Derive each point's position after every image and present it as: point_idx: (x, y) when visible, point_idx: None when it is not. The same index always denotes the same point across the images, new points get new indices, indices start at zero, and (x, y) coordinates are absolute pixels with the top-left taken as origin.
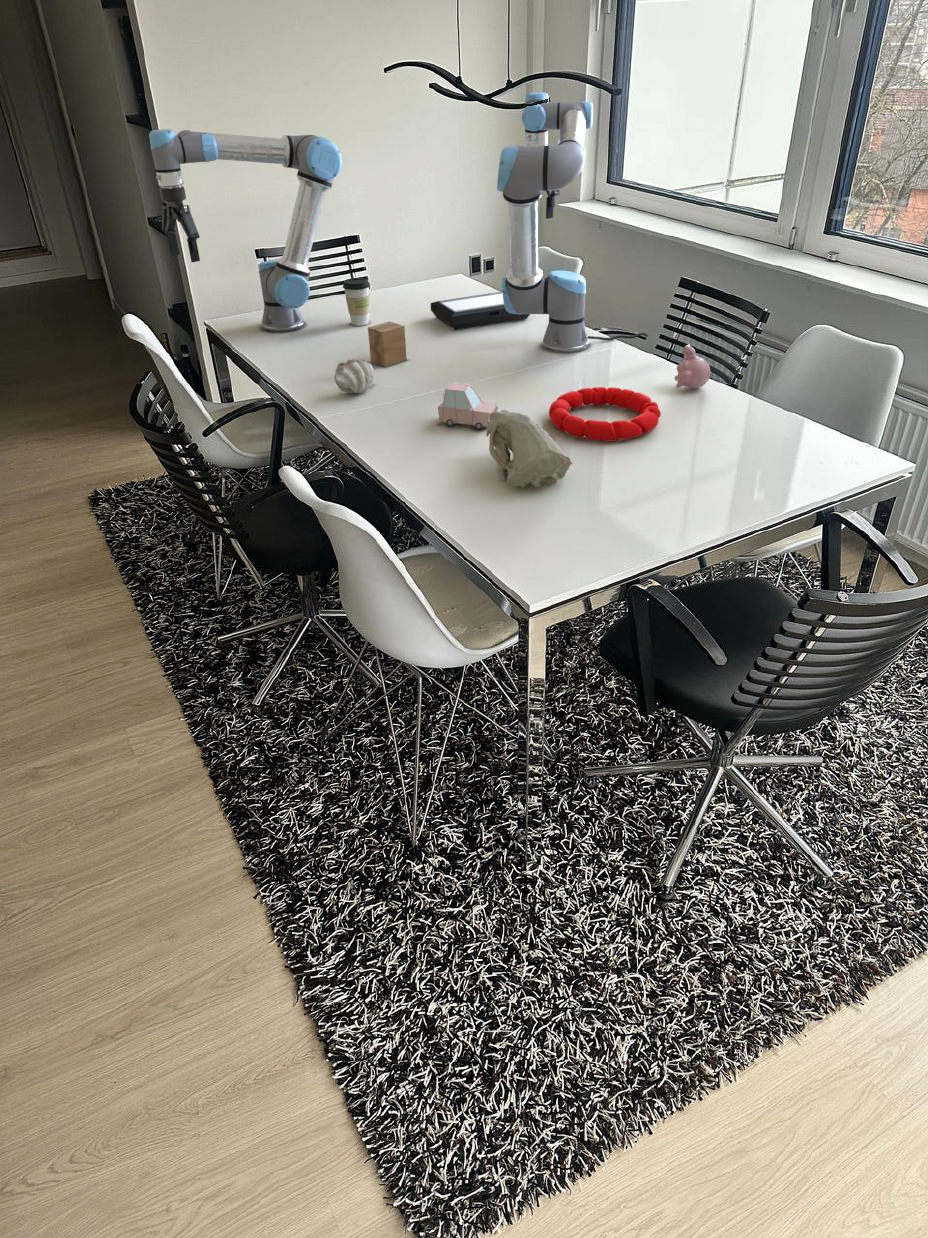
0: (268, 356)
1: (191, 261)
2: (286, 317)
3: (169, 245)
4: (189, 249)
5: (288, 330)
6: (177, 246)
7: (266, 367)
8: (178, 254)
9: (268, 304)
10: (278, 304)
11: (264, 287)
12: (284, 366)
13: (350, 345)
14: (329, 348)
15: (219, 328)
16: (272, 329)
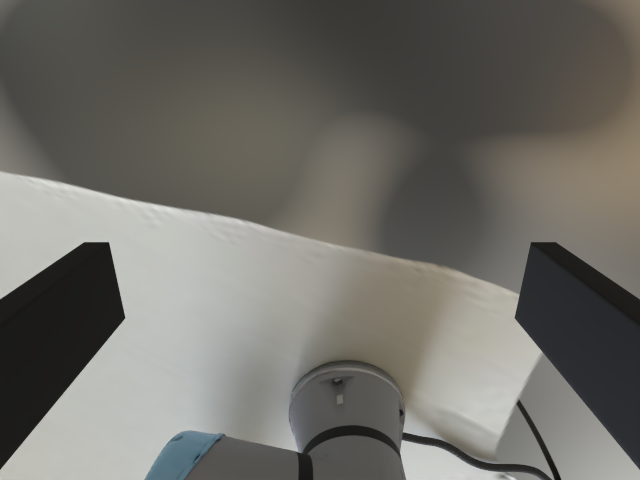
0: (128, 252)
1: (101, 243)
2: (297, 422)
3: (615, 292)
4: (4, 308)
5: (292, 393)
6: (558, 362)
7: (33, 196)
8: (517, 307)
9: (340, 429)
10: (310, 445)
11: (341, 476)
12: (12, 236)
13: (81, 423)
14: (90, 384)
15: (482, 291)
16: (321, 370)
